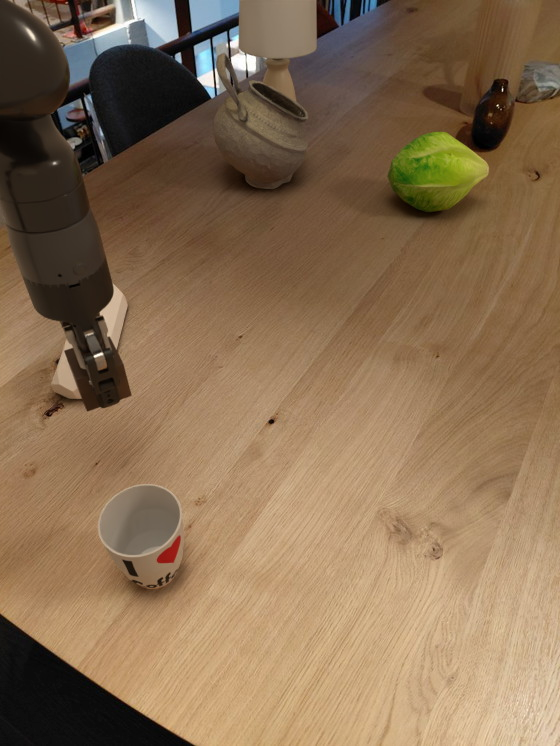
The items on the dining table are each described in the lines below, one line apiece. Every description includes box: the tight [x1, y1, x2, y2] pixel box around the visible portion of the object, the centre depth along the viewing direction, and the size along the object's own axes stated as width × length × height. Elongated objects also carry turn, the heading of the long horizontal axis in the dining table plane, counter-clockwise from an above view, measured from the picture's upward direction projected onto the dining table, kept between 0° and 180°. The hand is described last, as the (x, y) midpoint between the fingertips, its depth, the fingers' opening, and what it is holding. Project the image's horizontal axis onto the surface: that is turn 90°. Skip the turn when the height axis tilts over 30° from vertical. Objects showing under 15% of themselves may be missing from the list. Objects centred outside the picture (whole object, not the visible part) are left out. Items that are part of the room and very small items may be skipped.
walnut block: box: [64, 336, 133, 412], centre depth 62 cm, size 5×5×5 cm
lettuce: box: [387, 131, 490, 213], centre depth 116 cm, size 15×20×14 cm
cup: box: [97, 483, 185, 590], centre depth 59 cm, size 8×8×10 cm
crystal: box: [50, 283, 129, 400], centre depth 86 cm, size 7×7×24 cm
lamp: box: [238, 0, 318, 102], centre depth 136 cm, size 19×19×37 cm
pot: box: [212, 52, 309, 190], centre depth 120 cm, size 21×21×25 cm
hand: (102, 386), depth 63 cm, fingers closed on walnut block, 5 cm apart
